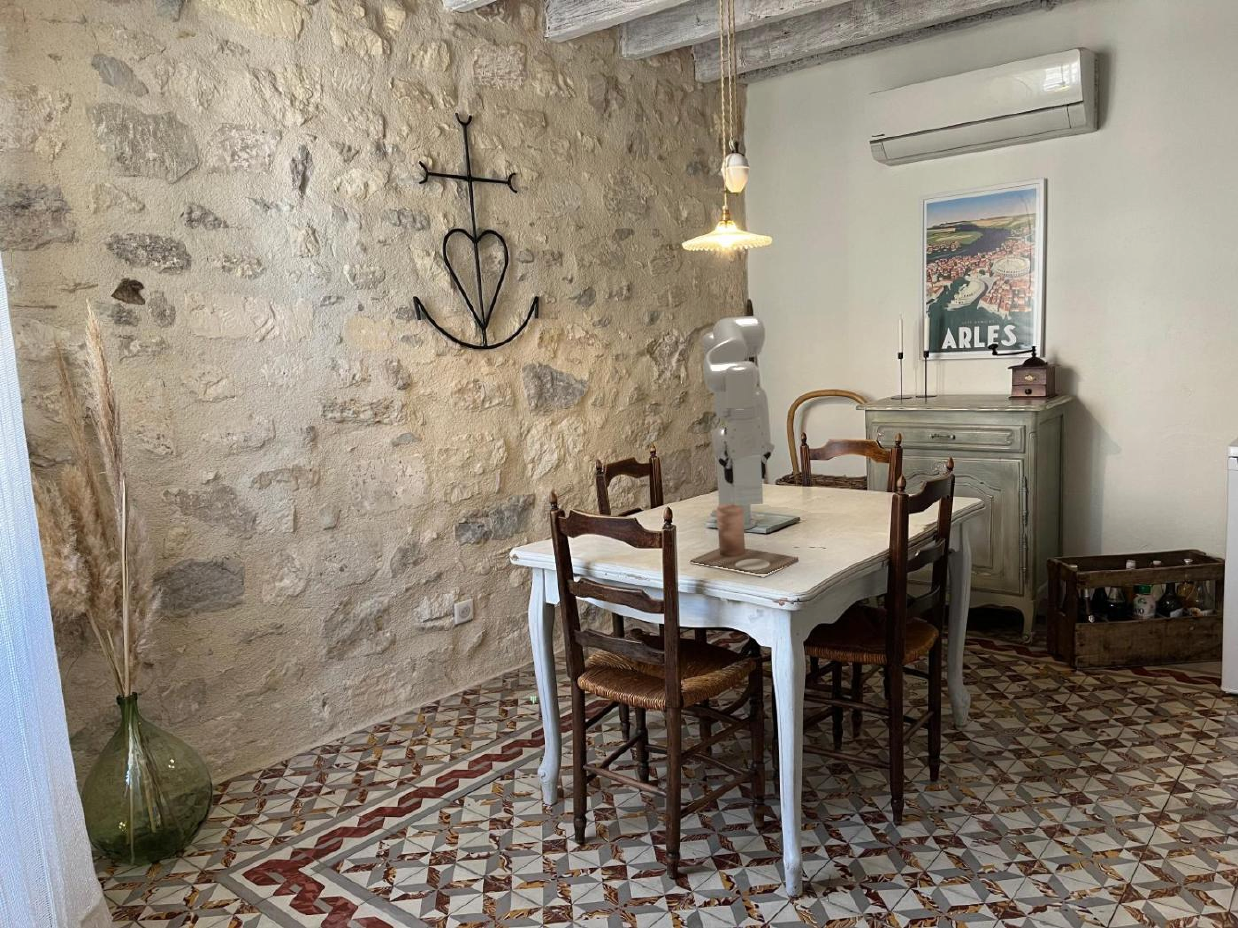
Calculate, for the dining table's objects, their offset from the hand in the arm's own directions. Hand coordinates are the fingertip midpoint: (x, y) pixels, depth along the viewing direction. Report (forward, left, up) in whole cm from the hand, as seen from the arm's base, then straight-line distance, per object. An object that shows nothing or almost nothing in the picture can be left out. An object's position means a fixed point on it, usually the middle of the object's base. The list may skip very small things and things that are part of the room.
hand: (745, 480), depth 243 cm
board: (-4, +3, -24) cm, 24 cm away
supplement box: (0, 0, -6) cm, 6 cm away
